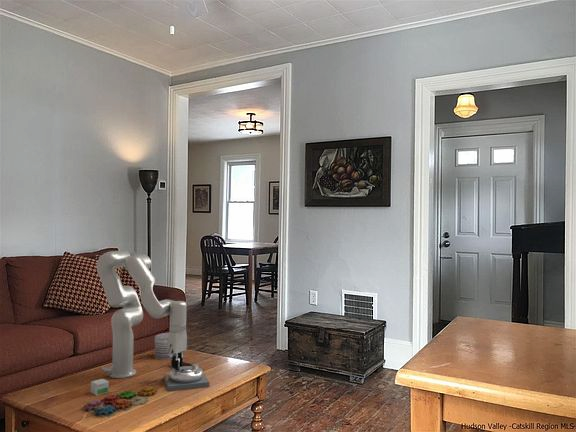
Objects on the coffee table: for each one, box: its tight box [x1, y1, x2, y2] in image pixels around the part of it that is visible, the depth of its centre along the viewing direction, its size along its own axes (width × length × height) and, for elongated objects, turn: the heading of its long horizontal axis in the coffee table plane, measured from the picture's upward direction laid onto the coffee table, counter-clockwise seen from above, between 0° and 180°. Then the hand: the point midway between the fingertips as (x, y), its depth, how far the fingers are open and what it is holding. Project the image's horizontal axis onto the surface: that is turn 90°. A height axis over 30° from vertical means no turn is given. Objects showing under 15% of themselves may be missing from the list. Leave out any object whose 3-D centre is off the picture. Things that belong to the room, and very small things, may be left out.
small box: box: [90, 378, 110, 396], centre depth 201 cm, size 6×6×5 cm
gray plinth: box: [163, 372, 210, 392], centre depth 216 cm, size 18×18×5 cm
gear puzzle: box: [81, 386, 159, 419], centre depth 191 cm, size 31×16×4 cm, turn 144°
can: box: [154, 332, 171, 360], centre depth 257 cm, size 11×11×12 cm
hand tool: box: [170, 359, 193, 366], centre depth 236 cm, size 19×4×5 cm, turn 48°
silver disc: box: [168, 358, 204, 383], centre depth 216 cm, size 15×15×8 cm
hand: (177, 367), depth 218 cm, fingers open, 2 cm apart
